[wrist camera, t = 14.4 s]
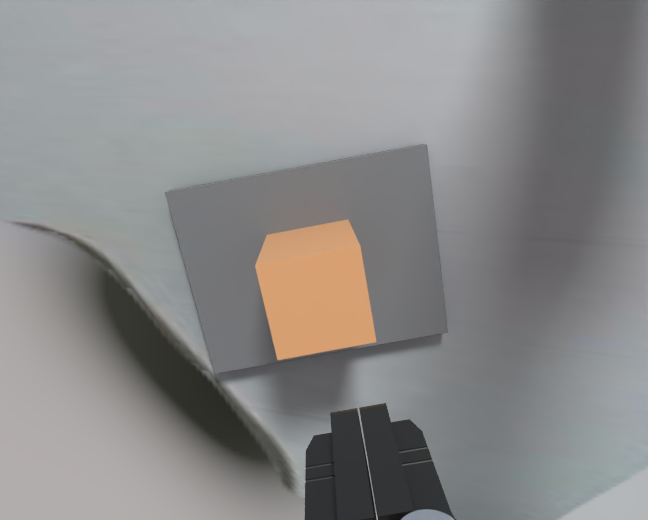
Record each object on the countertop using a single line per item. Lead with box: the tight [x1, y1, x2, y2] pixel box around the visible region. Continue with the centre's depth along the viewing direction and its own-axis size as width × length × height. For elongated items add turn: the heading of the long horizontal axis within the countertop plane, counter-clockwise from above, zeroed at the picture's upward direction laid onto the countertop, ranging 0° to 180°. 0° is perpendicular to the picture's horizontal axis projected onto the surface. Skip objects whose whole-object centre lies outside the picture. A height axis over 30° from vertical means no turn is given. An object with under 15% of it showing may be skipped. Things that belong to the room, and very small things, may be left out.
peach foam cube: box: [255, 220, 376, 360], centre depth 29 cm, size 6×6×8 cm
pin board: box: [165, 144, 448, 374], centre depth 31 cm, size 18×14×7 cm
